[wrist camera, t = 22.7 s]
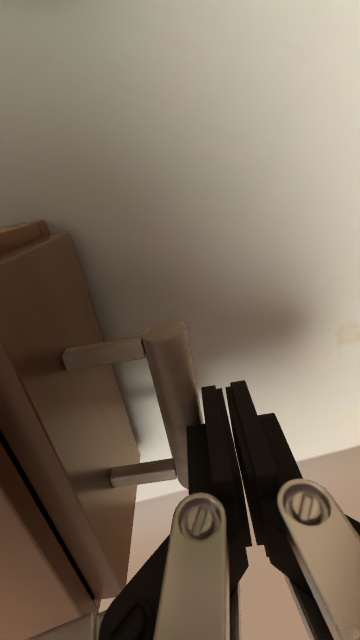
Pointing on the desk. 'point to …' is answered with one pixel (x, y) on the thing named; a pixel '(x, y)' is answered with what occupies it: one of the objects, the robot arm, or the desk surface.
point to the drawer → (83, 407)
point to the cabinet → (33, 537)
